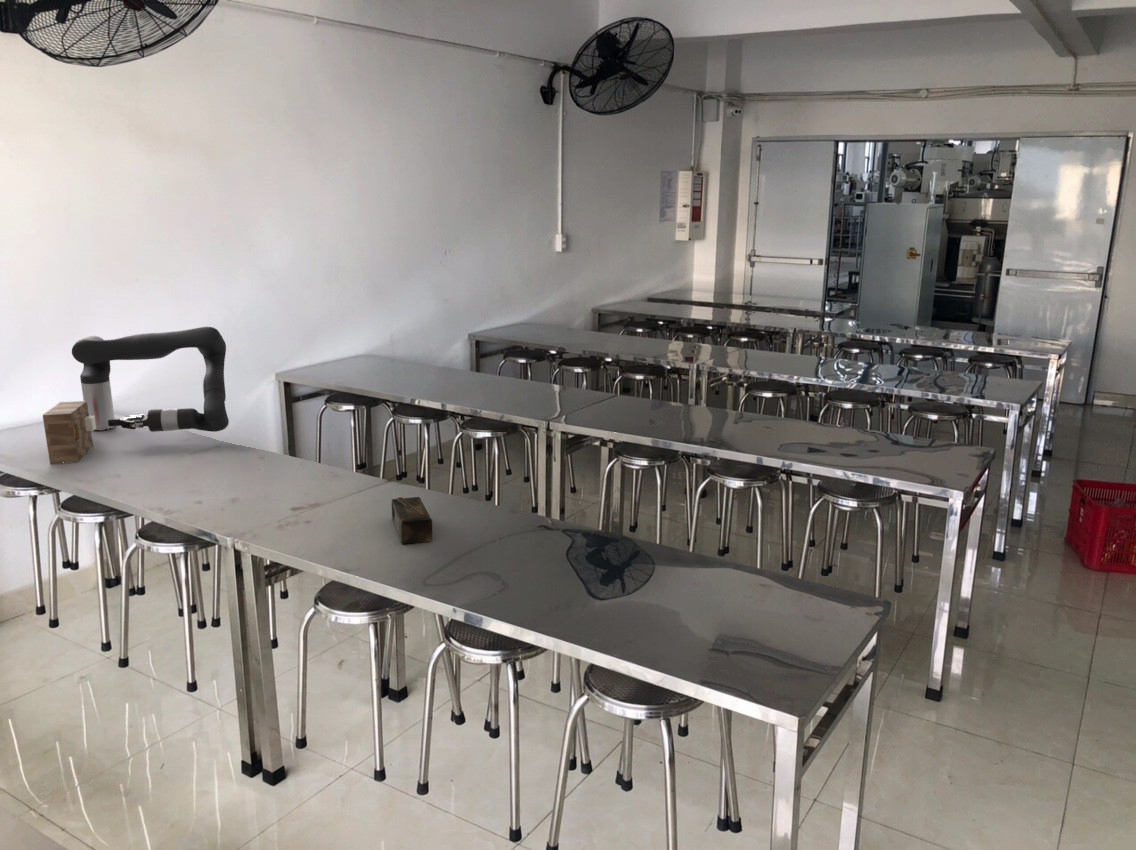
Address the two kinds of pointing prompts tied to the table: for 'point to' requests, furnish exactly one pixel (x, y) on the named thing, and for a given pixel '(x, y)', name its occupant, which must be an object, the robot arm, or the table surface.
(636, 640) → the table surface
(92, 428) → the white key
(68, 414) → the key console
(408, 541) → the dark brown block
